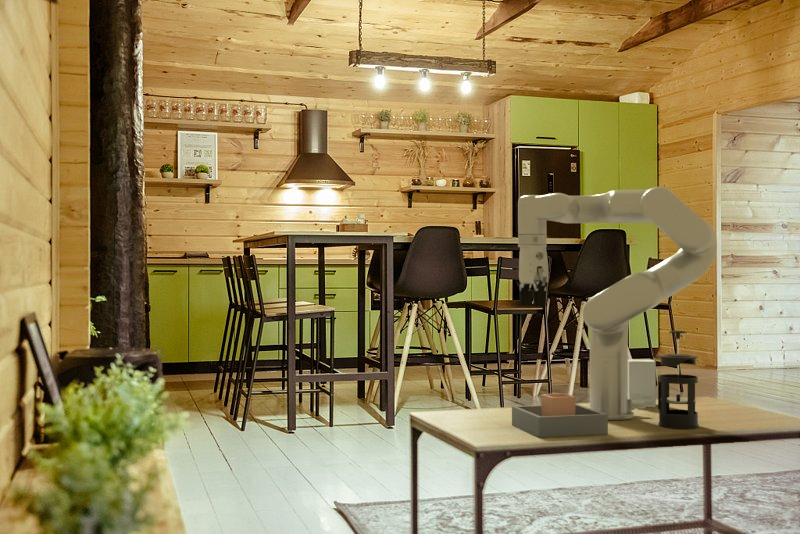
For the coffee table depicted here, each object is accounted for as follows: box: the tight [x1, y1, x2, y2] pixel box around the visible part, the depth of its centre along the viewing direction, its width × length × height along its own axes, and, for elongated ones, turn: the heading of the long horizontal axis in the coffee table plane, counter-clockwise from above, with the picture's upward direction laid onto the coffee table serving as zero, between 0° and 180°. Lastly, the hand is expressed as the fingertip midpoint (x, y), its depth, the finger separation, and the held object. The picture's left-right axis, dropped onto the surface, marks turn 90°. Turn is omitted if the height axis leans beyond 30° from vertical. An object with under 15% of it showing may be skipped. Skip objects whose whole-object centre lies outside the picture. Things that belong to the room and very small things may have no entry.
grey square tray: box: [511, 403, 609, 438], centre depth 210 cm, size 17×17×4 cm
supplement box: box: [628, 358, 657, 408], centre depth 248 cm, size 7×7×13 cm
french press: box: [657, 330, 700, 430], centre depth 215 cm, size 12×9×23 cm
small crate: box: [540, 392, 576, 416], centre depth 210 cm, size 6×6×7 cm
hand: (532, 305), depth 236 cm, fingers open, 9 cm apart
